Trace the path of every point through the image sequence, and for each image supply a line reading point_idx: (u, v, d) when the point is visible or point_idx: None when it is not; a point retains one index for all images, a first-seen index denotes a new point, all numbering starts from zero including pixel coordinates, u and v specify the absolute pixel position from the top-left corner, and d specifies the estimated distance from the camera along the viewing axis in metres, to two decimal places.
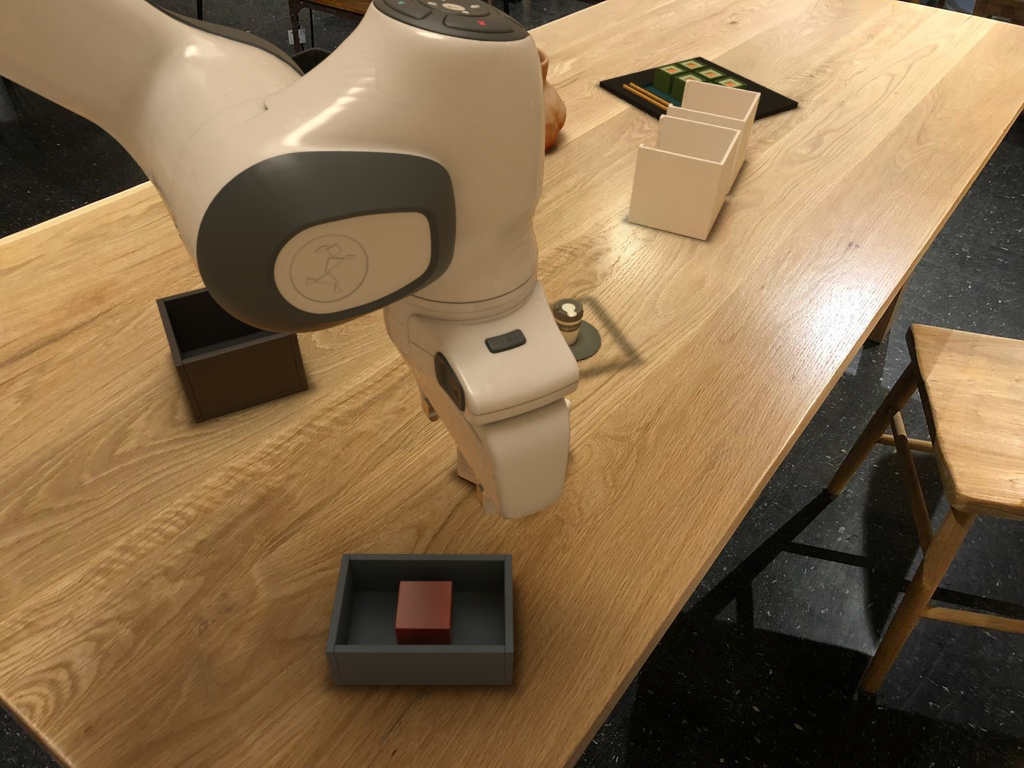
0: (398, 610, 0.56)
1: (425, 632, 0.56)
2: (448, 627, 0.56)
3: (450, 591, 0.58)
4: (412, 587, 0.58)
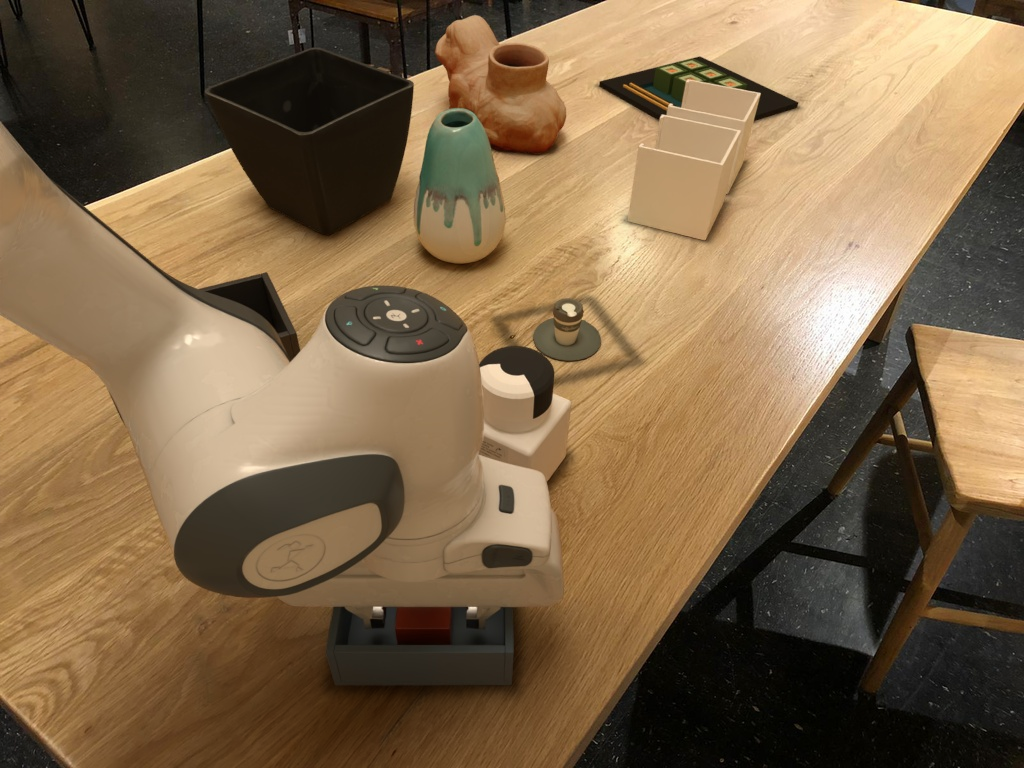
0: (398, 610, 0.56)
1: (425, 632, 0.56)
2: (448, 627, 0.56)
3: None
4: None
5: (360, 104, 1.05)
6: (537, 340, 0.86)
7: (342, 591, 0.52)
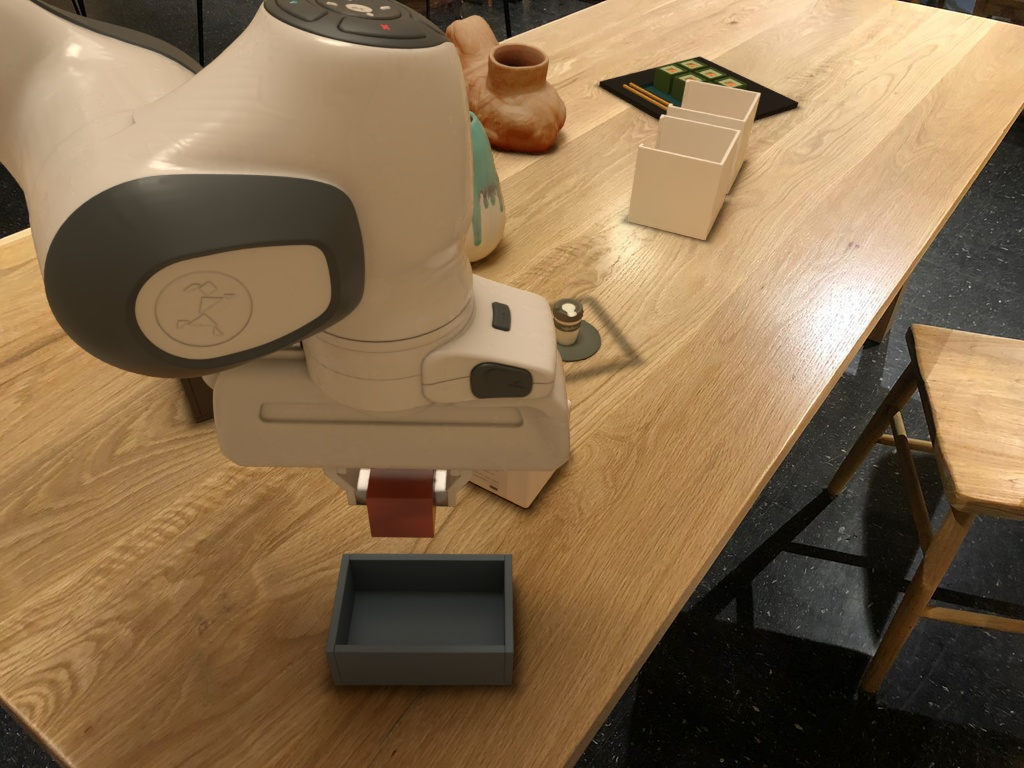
0: (370, 479, 0.47)
1: (402, 503, 0.46)
2: (430, 497, 0.46)
3: None
4: None
5: None
6: None
7: (300, 443, 0.43)
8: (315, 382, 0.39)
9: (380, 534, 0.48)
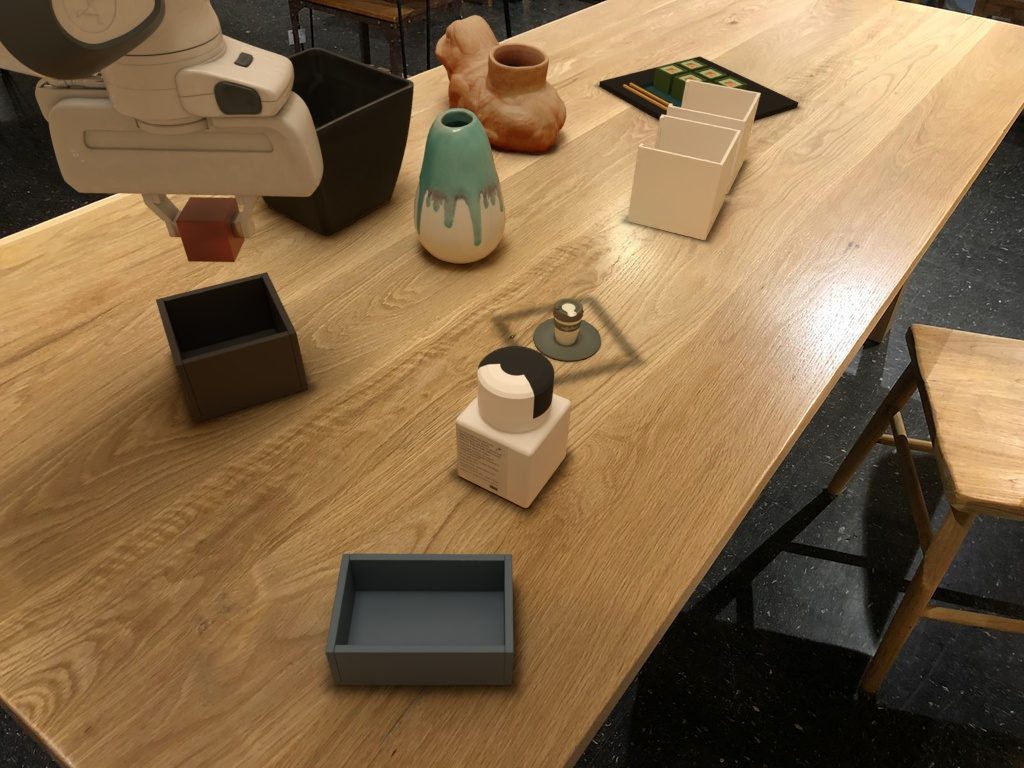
0: (182, 212, 0.64)
1: (203, 227, 0.63)
2: (223, 221, 0.63)
3: (232, 203, 0.65)
4: (199, 200, 0.65)
5: (360, 104, 1.05)
6: (537, 340, 0.86)
7: (118, 169, 0.60)
8: (112, 104, 0.55)
9: (194, 258, 0.65)
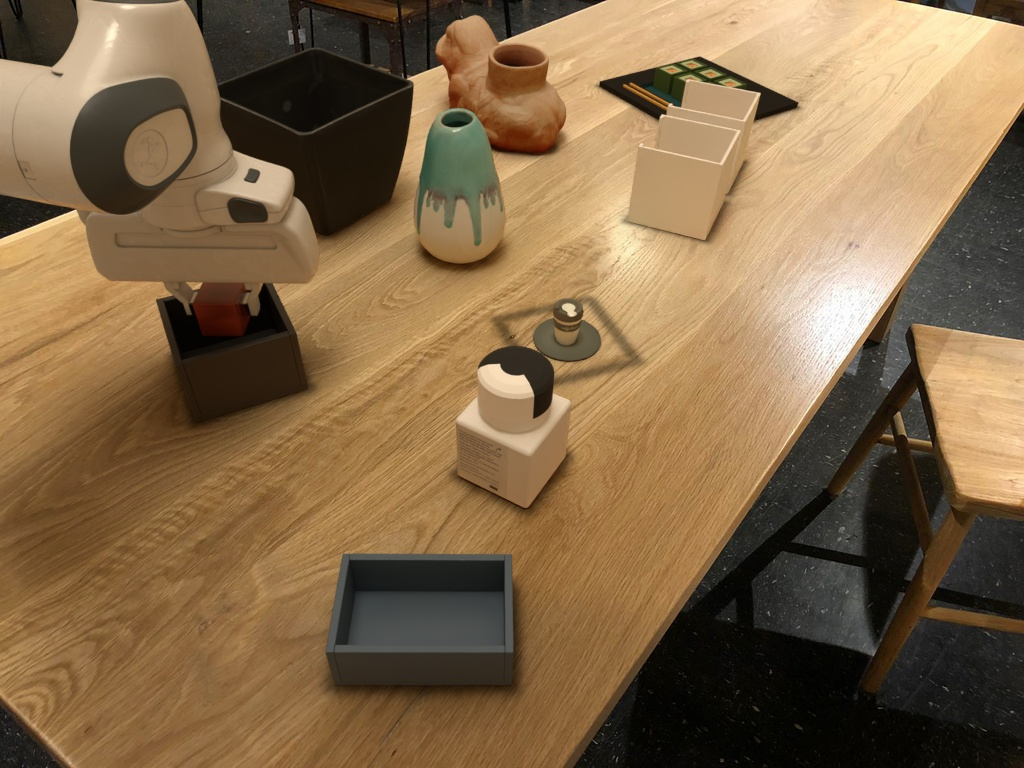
0: (197, 294, 0.74)
1: (216, 308, 0.73)
2: (233, 303, 0.73)
3: (241, 285, 0.75)
4: None
5: (360, 104, 1.05)
6: (538, 340, 0.86)
7: (143, 262, 0.70)
8: (141, 214, 0.65)
9: (207, 333, 0.75)
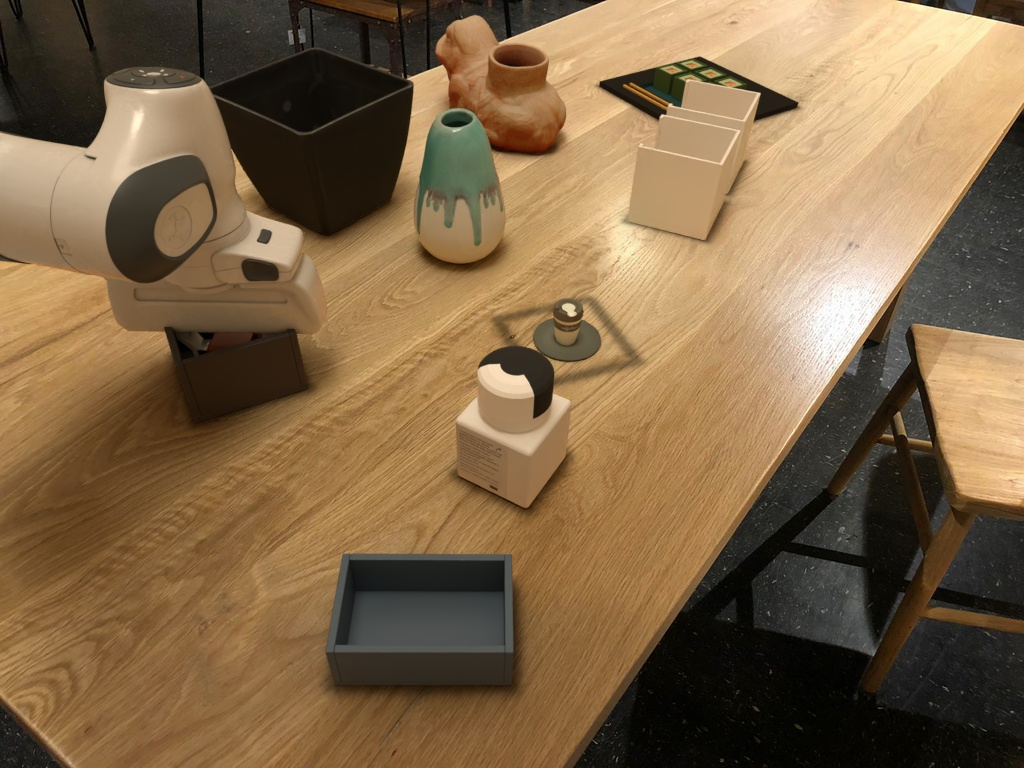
0: (212, 341, 0.78)
1: None
2: None
3: None
4: None
5: (360, 104, 1.05)
6: (538, 340, 0.86)
7: (160, 315, 0.74)
8: None
9: None
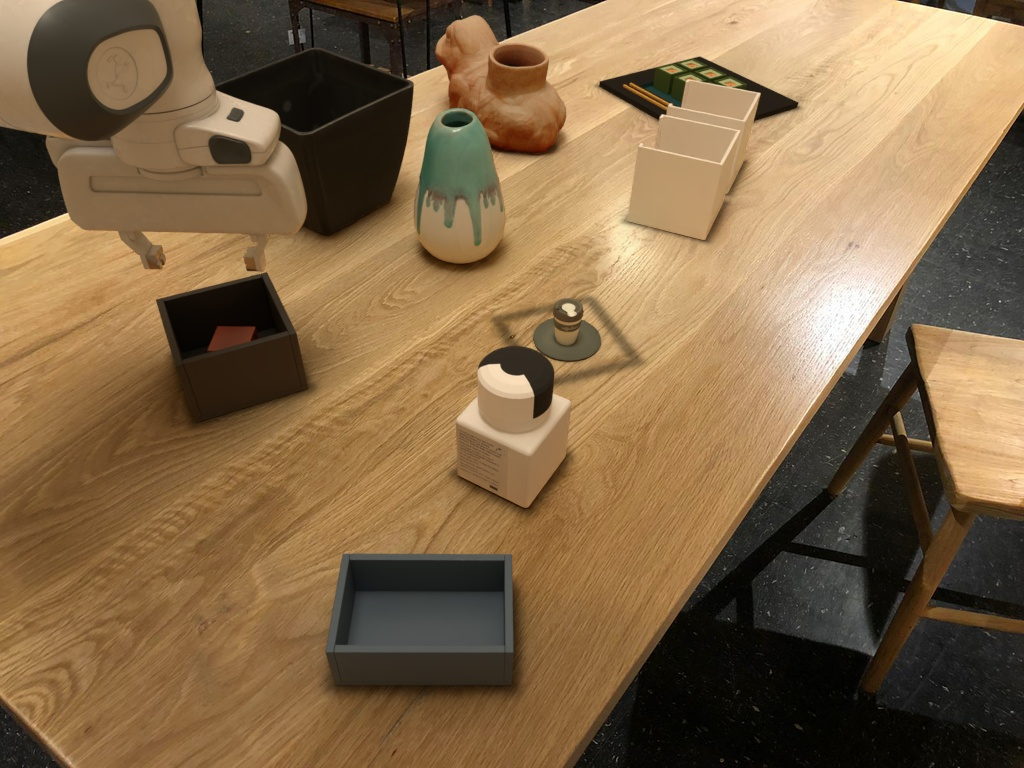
0: (212, 341, 0.78)
1: None
2: None
3: (252, 332, 0.79)
4: (225, 329, 0.79)
5: (360, 104, 1.05)
6: (538, 340, 0.86)
7: (120, 209, 0.66)
8: (116, 154, 0.62)
9: None
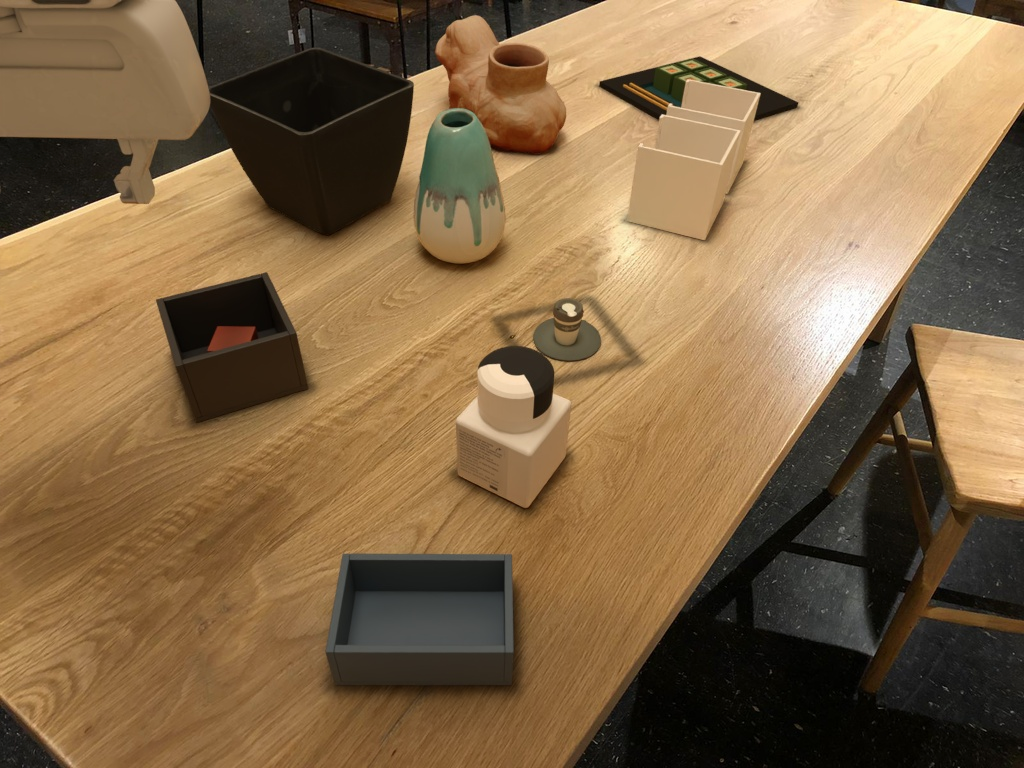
0: (212, 341, 0.78)
1: None
2: None
3: (252, 332, 0.79)
4: (225, 329, 0.79)
5: (360, 104, 1.05)
6: (538, 340, 0.86)
7: None
8: None
9: None
